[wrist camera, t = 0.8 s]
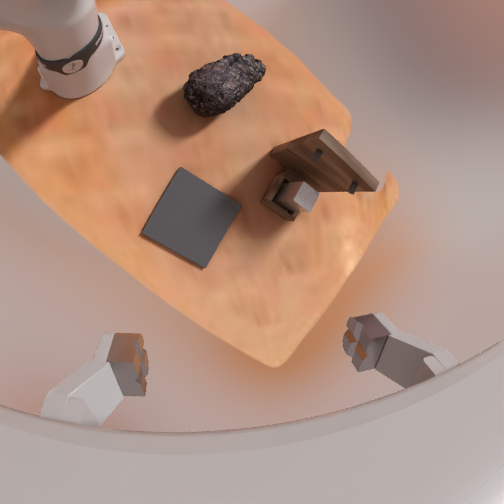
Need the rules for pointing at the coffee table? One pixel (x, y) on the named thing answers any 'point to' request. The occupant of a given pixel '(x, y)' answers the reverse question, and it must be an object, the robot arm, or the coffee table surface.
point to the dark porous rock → (222, 83)
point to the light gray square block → (295, 196)
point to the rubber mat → (191, 218)
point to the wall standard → (318, 168)
